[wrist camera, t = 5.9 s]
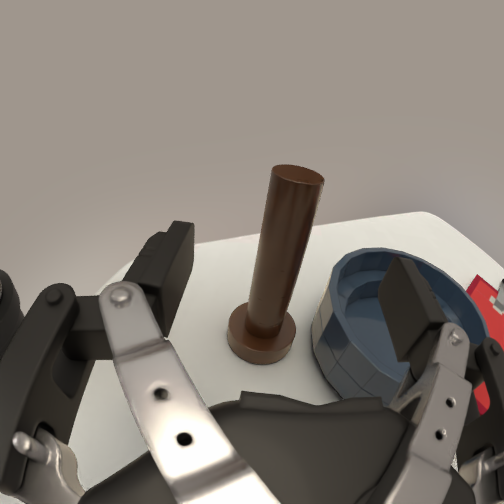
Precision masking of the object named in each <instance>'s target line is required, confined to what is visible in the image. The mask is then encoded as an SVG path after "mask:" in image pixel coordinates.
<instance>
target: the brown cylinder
mask: <svg viewBox="0 0 504 504" xmlns="http://www.w3.org/2000/svg"><path fill="white" fill-rule="evenodd" d="M324 181H325V180H324V178H323V177H322V176H321V175H320V174H319V173H317V172H315V171H313V170H310V169H307V168H304V167H300V166H295V165H276V166H274V167H273V168H272V171H271V177H270V183H269V189H268V194H267V200H266V206H265V212H264V217H263V223H262V229H261V234H260V240H259V245H258V251H257V256H256V262H255V268H254V273H253V279H252V284H251V290H250V295H249V301H248V302H247V303H244V304H242V305H240V306H238V307H237V308H236V309H235V310H234V311H233V312H232V314H231V316H230V319H229V325H228V334H227V338H228V343H229V345H230V347H231V349H232V350H233V351H234V353H235V354H236V355H237V356H239V357H240V358H242V359H243V360H245V361H248V362H250V363H254V364H271V363H274V362H276V361H279V360H280V359H282V358H283V357H284V356H285V355H286V354H287V353H288V351H289V349H290V347H291V344H292V342H293V340H294V337H295V334H296V326H295V323H294V320H293V318H292V317H291V315H290V314H289V313H288V312H287V309H288V306H289V303H290V300H291V297H292V294H293V290H294V287H295V284H296V281H297V278H298V274H299V271H300V268H301V264H302V261H303V258H304V254H305V251H306V248H307V244H308V241H309V237H310V234H311V230H312V226H313V223H314V219H315V216H316V212H317V208H318V204H319V201H320V197H321V193H322V189H323V185H324Z"/></svg>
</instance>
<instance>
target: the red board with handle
mask: <svg viewBox="0 0 504 504" xmlns="http://www.w3.org/2000/svg"><path fill="white" fill-rule="evenodd" d="M466 292H467V293H468V294H469V296H470V297H471V298H472V299H473V300H474V302H475V303H476V305H477V306H478V308H479V310H480V312H481V313H482V315H483V317H484V319H485V321H486V324H487V327H488V331H489V334H490V337H491V338H493V339H495V340H496V341H497V342H498V343H499V344H500V345H501V347H502V349H503V351H504V279H503V280H502V283H501V285H500V288H499V291H497V290H496V289H495V288H493V287H492V286H491V285H490V284H489V283H487V282H486V281H485V280H484V279H483V278H481V277H480V276H479V275H478V274H477V275H476V277H475V278H474V280H473V281H472V283H471V284H470V286H469V287H468V289H467V290H466ZM474 394H475V398H476V401H477V405H478V409H479V413H480V416H481V415H482V414H484V413H485V412H486V411H487V410H488V408H489V405H490V399H489V395H488V392H487V388H486V385H485V382H483V383H482V384H481V385H479V386H478V387H477V388H476V389H475V390H474Z"/></svg>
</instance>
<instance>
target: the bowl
mask: <svg viewBox="0 0 504 504" xmlns="http://www.w3.org/2000/svg"><path fill="white" fill-rule="evenodd" d="M395 257H401V258H407V259H411V260H413V262H414V263H415V265H416V267H417V269H418V270H419V272H420V274H421V275H422V276H423V277H424V278H425V279H426V280H427V281H428V283H429V285H430V287H431V288H432V292H434V294H435V296H436V299H437V300H438V302H439V304H440V306H441V308H442V310H443V312H444V314H445V316H446V318H447V320H448V322H451V323H455V324H457V325H458V326H460V327H461V328H462V329H463V330H464V331H465V332H466V334H467V336H468V338H469V342H471V343H474V344H477V345H479V344H480V343H481V342H482V341H483V340H484V339H485V338H486V337H490V334H489V331H488V327H487V324H486V321H485V319H484V317H483V315H482V313H481V312H480V310H479V308H478V306H477V305H476V303H475V302H474V300H473V299H472V298H471V297H470V296H469V294H468V293H467V292H466V291H465V290H464V289H463V287H462V286H461V285H460V284H458V283H457V282H456V281H455V280H454V279H452V278H451V277H450V276H449V275H448V274H446V273H445V272H444V271H442V270H441V269H439V268H437V267H436V266H434V265H432V264H431V263H429V262H427V261H425V260H423V259H421V258H419V257H416V256H413V255H411V254H408V253H406V252H403V251H398V250H393V249H388V248H362V249H359V250H356V251H354V252H351V253H348V254H346V255H345V256H344V257H343V258H342V259H341V260H340V261H339V262H338V263H337V264H336V265H335V266H334V267H333V269H332V272H331V274H330V277H329V279H328V282H327V285H326V287H325V290H324V292H323V294H322V297H321V299H320V302H319V304H318V307H317V310H316V313H315V316H314V319H313V322H312V325H311V329H312V340H313V351H314V353H315V356H316V358H317V360H318V362H319V365H320V367H321V369H322V371H323V373H324V376H325V378H326V379H327V380H328V382H329V383H330V384H331V385H332V386H333V387H334V388H335V390H336V391H337V392H338V393H339V394H340V395H341V396H342V397H343V399H348V398H351V397H381V398H382V403H383V406H384V407H388V405H389V404H390V402H391V400H392V398H393V396H394V394H395V392H396V390H397V388H398V386H399V384H400V382H401V379H402V377H403V375H404V373H405V371H406V369H407V368H408V367H409V366H410V363H409V362H398V361H397V358H396V354H395V351H394V347H393V344H392V340H391V337H390V334H389V331H388V327H387V324H386V321H385V318H384V315H383V312H382V309H381V306H380V303H379V300H378V289H379V285H380V283H381V281H382V279H383V277H384V275H385V273H386V271H387V269H388V267H389V265H390V263H391V261H392V260H393V258H395Z"/></svg>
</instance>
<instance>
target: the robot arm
mask: <svg viewBox="0 0 504 504" xmlns="http://www.w3.org/2000/svg"><path fill="white" fill-rule="evenodd" d="M193 262H194V223H190V222H182V221H173V223H172V224H171V226H170V227H169V229H168V231H167V232H158V233H156V234H155V235H153V236H152V237H150V238H149V239H148V240H147V242H146V243H145V245H144V247H143V249H142V250H141V251H140V253H139V256H137V257H136V259H135V260H134V262H133V264H132V265H131V267H130V268H129V270H128V272H127V273H126V275H125V276H124V278H123V280H122V281H120V282H115V283H112V284H110V285H109V286H107V287H106V288H105V289H103V291H102V292H101V294H100V295H97V296H76V295H75V292H74V290H73V288H72V287H71V286H69V285H68V284H64V283H58V284H53V285H51V286H48V287H47V288H45V289H44V290H43V291H42V292H41V293H40V294H39V296H38V297H37V299H36V300H35V302H34V303H33V305H32V306H31V308H30V310H29V311H28V313H27V314H26V316H25V318H24V319H23V321H22V323H21V324H20V326H19V328H18V329H17V331H16V333H15V335H14V336H13V338H12V340H11V342H10V344H9V345H8V347H7V349H6V351H5V353H4V355H3V357H2V359H1V361H0V492H1V493H3V494H5V495H8V496H11V497H14V498H18V499H19V500H21V501H22V502H24V503H25V504H502V503H504V351H503V349H502V347H501V345H500V344H499V343H498V342H497V341H496V340H495V339H493V338H491V337H486V338H485V339H484V340H483V341H482V342H481V343H480V344H479V345H477V344H474V343H471V342H469V338H468V336H467V334H466V332H465V331H464V330H463V329H462V328H461V327H460V326H458V325H457V324H455V323H451V322H448V320H447V318H446V316H445V314H444V312H443V310H442V308H441V306H440V304H439V302H438V300H437V299H436V296H435V294H434V292H432V288H431V287H430V285H429V283H428V281H427V280H426V279H425V278H424V277H423V276H422V275H421V274H420V272H419V270H418V269H417V267H416V265H415V263H414V262H413V260H411V259H407V258H401V257H395V258H393V260H392V261H391V263H390V265H389V267H388V269H387V271H386V273H385V275H384V277H383V279H382V281H381V283H380V285H379V289H378V300H379V303H380V306H381V309H382V312H383V315H384V318H385V321H386V324H387V327H388V331H389V334H390V337H391V340H392V344H393V347H394V351H395V354H396V358H397V361H398V362H409V363H410V366H409V367H408V368H407V369H406V371H405V373H404V375H403V377H402V379H401V382H400V384H399V386H398V388H397V390H396V392H395V394H394V396H393V398H392V400H391V402H390V404H389V405H388V407H384V406H383V403H382V398H381V397H351V398H348V399H344V400H340V401H336V402H332V403H328V404H324V405H312V404H308V403H305V402H301V401H298V400H295V399H291V398H288V397H285V396H281V395H275V394H265V393H255V392H247V391H241V395H240V399H239V400H235V401H228V402H223V403H220V404H217V405H214V406H211V407H209V408H207V406H206V404H205V403H204V401H203V399H202V398H201V396H200V394H199V393H198V391H197V389H196V387H195V386H194V384H193V382H192V380H191V379H190V377H189V375H188V373H187V371H186V370H185V368H184V366H183V364H182V362H181V360H180V359H179V357H178V355H177V353H176V351H175V349H174V347H173V345H172V344H171V342H170V341H169V340H165V338H164V337H167V338H168V335H169V332H170V329H171V327H172V324H173V321H174V318H175V315H176V312H177V310H178V307H179V304H180V301H181V299H182V296H183V293H184V290H185V288H186V285H187V282H188V280H189V277H190V274H191V271H192V267H193ZM2 298H3V286H2V283H1V281H0V304H1V301H2ZM96 360H113V363H114V366H115V369H116V372H117V375H118V378H119V381H120V383H121V386H122V389H123V391H124V394H125V397H126V399H127V402H128V404H129V407H130V409H131V412H132V414H133V416H134V419H135V421H136V423H137V426H138V428H139V430H140V432H141V434H142V437H143V439H144V441H145V443H146V445H147V447H148V449H149V451H147V452H146V453H144V454H143V455H141V456H140V457H139V458H137V459H136V460H134V461H133V462H131V463H130V464H128V465H127V466H125V467H124V468H122V469H121V470H119V471H118V472H116V473H115V474H113V475H112V476H110V477H108V478H107V479H105V480H104V481H102V482H100V483H99V484H97V485H95V486H94V487H92V488H90V489H89V490H88V491H86V492H85V490H84V489H83V488H82V486H81V485H80V483H79V480H78V475H77V469H78V465H77V459H76V457H75V454H74V453H73V451H72V450H71V449H70V448H69V447H68V442H69V439H70V435H71V432H72V428H73V425H74V421H75V418H76V415H77V412H78V409H79V406H80V402H81V399H82V396H83V394H84V391H85V388H86V385H87V382H88V379H89V377H90V374H91V371H92V368H93V366H94V363H95V361H96ZM483 382H485V385H486V388H487V392H488V395H489V399H490V405H489V408H488V410H487V411H486V412H485V413H484V414H482V415H481V416H480V413H479V409H478V405H477V401H476V398H475V394H474V390H475V389H476V388H477V387H478V386H479V385H481V384H482V383H483ZM455 452H456V457H457V465H458V472H457V471H456V470H455V469H454V468H453V467H452V466H451V464H452V461H453V458H454V455H455Z"/></svg>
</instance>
